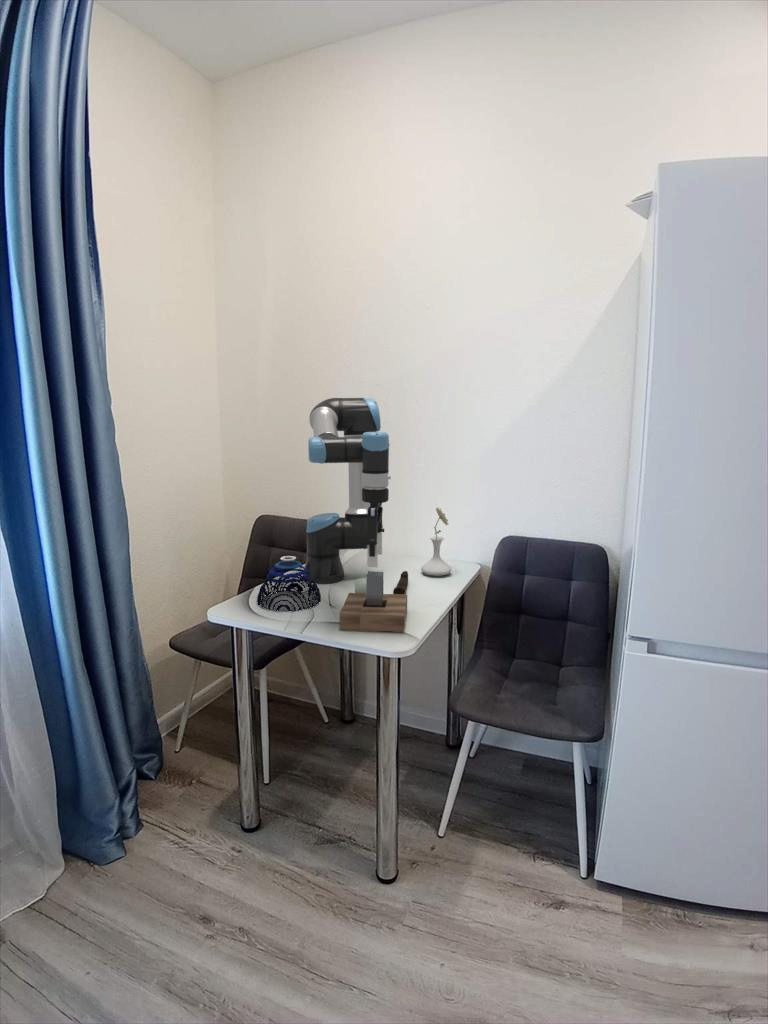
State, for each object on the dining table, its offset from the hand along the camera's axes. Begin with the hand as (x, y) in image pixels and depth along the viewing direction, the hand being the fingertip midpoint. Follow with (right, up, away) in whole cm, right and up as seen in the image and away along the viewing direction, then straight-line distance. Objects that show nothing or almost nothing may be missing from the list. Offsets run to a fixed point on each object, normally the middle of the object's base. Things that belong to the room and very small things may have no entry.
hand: (375, 560), depth 165 cm
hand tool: (+8, -13, +31) cm, 35 cm away
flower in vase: (+22, -9, +50) cm, 56 cm away
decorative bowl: (-28, -15, +19) cm, 37 cm away
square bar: (0, -18, +3) cm, 18 cm away
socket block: (0, -18, +3) cm, 18 cm away
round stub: (-3, -15, +18) cm, 24 cm away
